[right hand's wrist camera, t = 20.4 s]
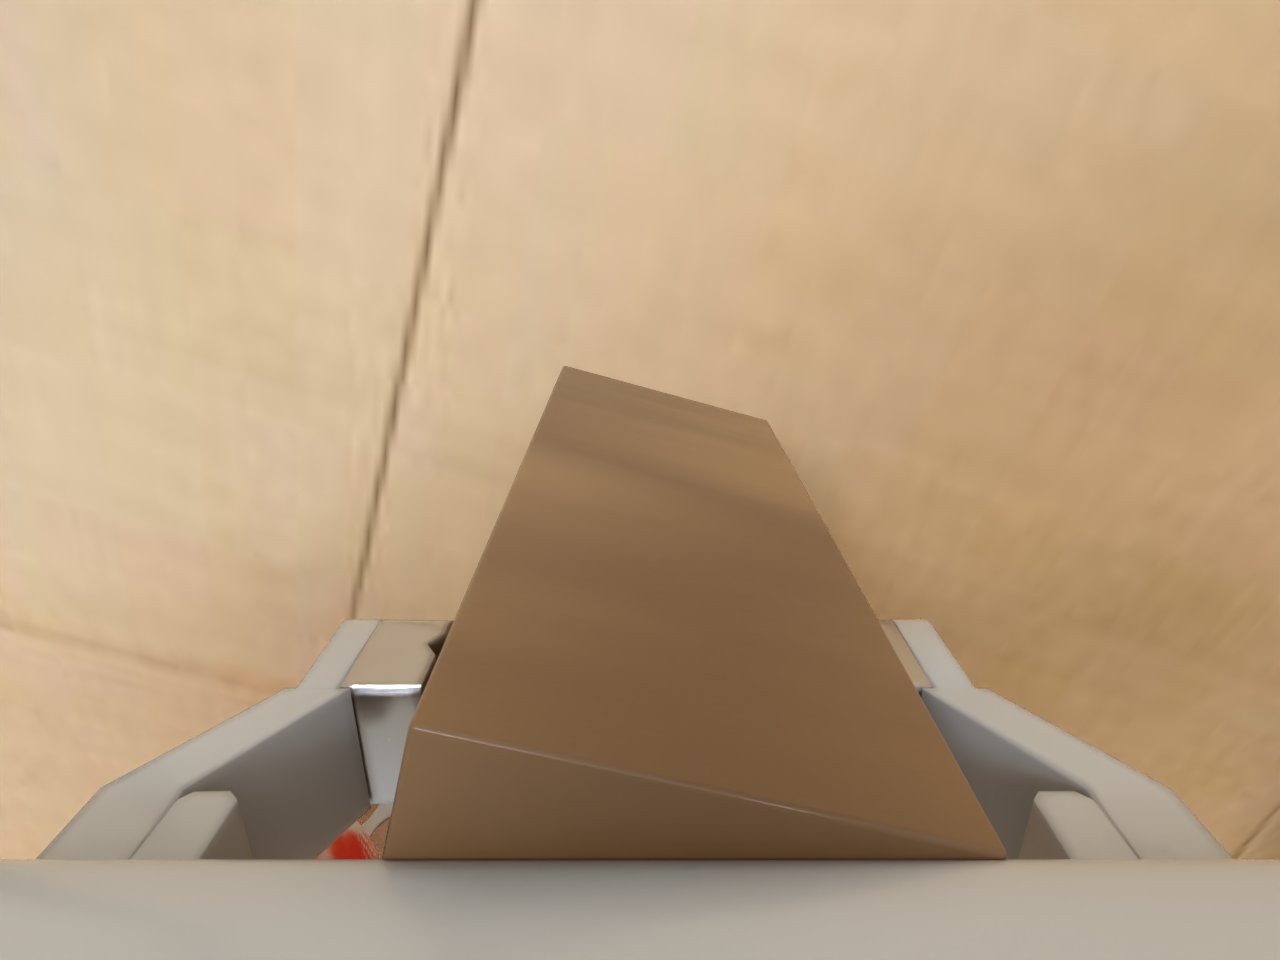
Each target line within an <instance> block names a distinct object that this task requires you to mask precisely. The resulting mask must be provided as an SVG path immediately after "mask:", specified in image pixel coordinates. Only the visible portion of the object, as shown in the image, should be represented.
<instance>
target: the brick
mask: <svg viewBox="0 0 1280 960" xmlns="http://www.w3.org/2000/svg"><path fill="white" fill-rule="evenodd" d="M1006 856H1007V853H1006V849H1005V848H1004V846H1003V844H1002V842H1001V840H1000V839H999V837H998V835H997V833H996V831H995V830H994V828H993V826H992V824H991V822H990V821H989V819H988V817H987V815H986V813H985V812H984V810H983V808H982V806H981V804H980V803H979V801H978V799H977V797H976V795H975V794H974V792H973V790H972V788H971V787H970V785H969V783H968V781H967V779H966V778H965V776H964V774H963V772H962V770H961V769H960V767H959V765H958V763H957V761H956V760H955V758H954V756H953V754H952V752H951V751H950V749H949V747H948V745H947V743H946V742H945V740H944V738H943V736H942V734H941V733H940V731H939V729H938V727H937V725H936V724H935V722H934V720H933V718H932V716H931V715H930V713H929V711H928V709H927V707H926V706H925V704H924V702H923V700H922V698H921V697H920V695H919V693H918V691H917V689H916V688H915V686H914V684H913V682H912V680H911V679H910V677H909V675H908V673H907V671H906V670H905V668H904V666H903V664H902V662H901V661H900V659H899V657H898V655H897V653H896V652H895V650H894V648H893V646H892V644H891V643H890V641H889V639H888V637H887V635H886V634H885V632H884V630H883V628H882V627H881V625H880V623H879V621H878V619H877V618H876V616H875V614H874V612H873V610H872V609H871V607H870V605H869V603H868V601H867V600H866V598H865V596H864V594H863V592H862V591H861V589H860V587H859V585H858V583H857V582H856V580H855V578H854V576H853V574H852V573H851V571H850V569H849V567H848V565H847V564H846V562H845V560H844V558H843V556H842V555H841V553H840V551H839V549H838V547H837V546H836V544H835V542H834V540H833V538H832V537H831V535H830V533H829V531H828V529H827V528H826V526H825V524H824V522H823V520H822V519H821V517H820V515H819V513H818V511H817V510H816V508H815V506H814V504H813V502H812V501H811V499H810V497H809V495H808V493H807V492H806V490H805V488H804V486H803V484H802V483H801V481H800V479H799V477H798V475H797V474H796V472H795V470H794V468H793V466H792V465H791V463H790V461H789V459H788V458H787V456H786V454H785V452H784V450H783V449H782V447H781V445H780V443H779V441H778V440H777V438H776V436H775V434H774V432H773V431H772V429H771V427H770V425H769V423H768V422H767V421H766V420H762V419H758V418H755V417H751V416H747V415H744V414H740V413H736V412H733V411H729V410H725V409H722V408H718V407H714V406H711V405H707V404H703V403H700V402H696V401H692V400H689V399H685V398H681V397H678V396H674V395H670V394H666V393H663V392H659V391H655V390H652V389H648V388H644V387H641V386H637V385H633V384H630V383H626V382H622V381H619V380H615V379H611V378H608V377H604V376H600V375H597V374H593V373H589V372H586V371H582V370H578V369H575V368H571V367H567V366H564V367H563V368H562V370H561V373H560V375H559V377H558V380H557V382H556V384H555V387H554V389H553V391H552V394H551V396H550V398H549V401H548V403H547V405H546V408H545V410H544V412H543V415H542V417H541V419H540V422H539V424H538V426H537V429H536V431H535V433H534V436H533V438H532V440H531V443H530V445H529V447H528V450H527V452H526V454H525V457H524V459H523V461H522V464H521V466H520V468H519V471H518V473H517V475H516V478H515V480H514V482H513V484H512V487H511V489H510V491H509V494H508V496H507V498H506V501H505V503H504V505H503V508H502V510H501V512H500V515H499V517H498V519H497V522H496V524H495V526H494V529H493V531H492V533H491V536H490V538H489V540H488V543H487V545H486V547H485V550H484V552H483V554H482V557H481V559H480V561H479V564H478V566H477V568H476V571H475V573H474V575H473V578H472V580H471V582H470V585H469V587H468V589H467V592H466V594H465V596H464V599H463V601H462V603H461V605H460V608H459V610H458V612H457V615H456V617H455V619H454V622H453V624H452V626H451V629H450V631H449V633H448V636H447V638H446V640H445V643H444V645H443V647H442V650H441V652H440V654H439V657H438V659H437V661H436V664H435V666H434V668H433V671H432V673H431V675H430V678H429V680H428V682H427V685H426V687H425V689H424V692H423V694H422V696H421V699H420V701H419V703H418V706H417V708H416V710H415V713H414V715H413V717H412V720H411V722H410V724H409V728H408V733H407V737H406V742H405V747H404V752H403V757H402V762H401V767H400V772H399V777H398V782H397V787H396V792H395V797H394V802H393V807H392V812H391V817H390V822H389V827H388V832H387V837H386V842H385V847H384V852H383V857H382V860H1006Z"/></svg>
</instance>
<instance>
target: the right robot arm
mask: <svg viewBox="0 0 1280 960" xmlns="http://www.w3.org/2000/svg"><path fill="white" fill-rule="evenodd" d="M453 622H454V621H435V620H382V619H350V620H347V621H344V622H343V623H342V624H341V625H340V627H339V628H338V630H337V631H336V633H335V634H334V636H333V637H332V638H331V640H330V641H329V643H328V644H327V646H326V647H325V648H324V650H323V651H322V653H321V654H320V656H319V657H318V659H317V660H316V661H315V663H314V664H313V666H312V667H311V669H310V670H309V671H308V673H307V674H306V676H305V677H304V679H303V680H302V681H301V683H300V684H299V686H298V687H297V688H285V689H284V690H282V691H280V692H278V693H276V694H274V695H272V696H271V697H269V698H267V699H265V700H263V701H261V702H259V703H258V704H256V705H254V706H252V707H250V708H248V709H246V710H245V711H243V712H241V713H239V714H237V715H235V716H233V717H232V718H230V719H228V720H226V721H224V722H222V723H220V724H219V725H217V726H215V727H213V728H211V729H209V730H207V731H206V732H204V733H202V734H200V735H198V736H196V737H194V738H193V739H191V740H189V741H187V742H185V743H183V744H182V745H180V746H178V747H176V748H174V749H172V750H170V751H169V752H167V753H165V754H163V755H161V756H159V757H157V758H156V759H154V760H152V761H150V762H148V763H146V764H144V765H143V766H141V767H139V768H137V769H135V770H133V771H131V772H130V773H128V774H126V775H124V776H122V777H120V778H118V779H117V780H115V781H113V782H111V783H109V784H107V785H105V786H104V787H102V788H100V789H99V790H98V791H97V793H96V794H95V795H94V796H93V797H92V798H91V799H90V800H89V801H88V802H87V804H86V805H85V806H84V807H83V808H82V809H81V810H80V811H79V812H78V813H77V815H76V816H75V817H74V818H73V819H72V820H71V821H70V822H69V823H68V824H67V826H66V827H65V828H64V829H63V830H62V831H61V832H60V833H59V834H58V835H57V837H56V838H55V839H54V840H53V841H52V842H51V843H50V844H49V845H48V846H47V848H46V849H45V850H44V851H43V852H42V853H41V854H40V855H39V856H38V857H37V859H0V960H1280V859H1233V858H1232V857H1231V856H1230V855H1229V854H1228V852H1227V851H1226V850H1225V849H1224V848H1223V847H1222V846H1221V845H1220V843H1219V842H1218V841H1217V840H1216V839H1215V838H1214V837H1213V836H1212V834H1211V833H1210V832H1209V831H1208V830H1207V829H1206V828H1205V827H1204V825H1203V824H1202V823H1201V822H1200V821H1199V820H1198V819H1197V817H1196V816H1195V815H1194V814H1193V813H1192V812H1191V811H1190V810H1189V808H1188V807H1187V806H1186V805H1185V804H1184V803H1183V802H1182V801H1181V799H1180V798H1179V797H1178V796H1177V795H1176V794H1175V793H1174V792H1173V790H1172V789H1170V788H1168V787H1166V786H1165V785H1163V784H1161V783H1159V782H1157V781H1155V780H1154V779H1152V778H1150V777H1148V776H1146V775H1144V774H1143V773H1141V772H1139V771H1137V770H1135V769H1133V768H1132V767H1130V766H1128V765H1126V764H1124V763H1122V762H1121V761H1119V760H1117V759H1115V758H1113V757H1111V756H1110V755H1108V754H1106V753H1104V752H1102V751H1100V750H1099V749H1097V748H1095V747H1093V746H1091V745H1089V744H1088V743H1086V742H1084V741H1082V740H1080V739H1078V738H1077V737H1075V736H1073V735H1071V734H1069V733H1067V732H1066V731H1064V730H1062V729H1060V728H1058V727H1056V726H1055V725H1053V724H1051V723H1049V722H1047V721H1045V720H1044V719H1042V718H1040V717H1038V716H1036V715H1034V714H1033V713H1031V712H1029V711H1027V710H1025V709H1023V708H1022V707H1020V706H1018V705H1016V704H1014V703H1012V702H1011V701H1009V700H1007V699H1005V698H1003V697H1001V696H1000V695H998V694H996V693H994V692H992V691H990V690H989V689H987V688H975V687H974V685H973V684H972V682H971V681H970V680H969V678H968V677H967V675H966V674H965V672H964V671H963V669H962V668H961V666H960V665H959V664H958V662H957V661H956V659H955V658H954V656H953V655H952V653H951V652H950V650H949V649H948V648H947V646H946V645H945V643H944V642H943V640H942V639H941V637H940V636H939V634H938V633H937V632H936V630H935V629H934V627H933V626H932V624H931V623H930V622H929V621H927V620H925V619H904V620H880V621H879V623H880V625H881V627H882V628H883V630H884V632H885V634H886V635H887V637H888V639H889V641H890V643H891V644H892V646H893V648H894V650H895V652H896V653H897V655H898V657H899V659H900V661H901V662H902V664H903V666H904V668H905V670H906V671H907V673H908V675H909V677H910V679H911V680H912V682H913V684H914V686H915V688H916V689H917V691H918V693H919V695H920V697H921V698H922V700H923V702H924V704H925V706H926V707H927V709H928V711H929V713H930V715H931V716H932V718H933V720H934V722H935V724H936V725H937V727H938V729H939V731H940V733H941V734H942V736H943V738H944V740H945V742H946V743H947V745H948V747H949V749H950V751H951V752H952V754H953V756H954V758H955V760H956V761H957V763H958V765H959V767H960V769H961V770H962V772H963V774H964V776H965V778H966V779H967V781H968V783H969V785H970V787H971V788H972V790H973V792H974V794H975V795H976V797H977V799H978V801H979V803H980V804H981V806H982V808H983V810H984V812H985V813H986V815H987V817H988V819H989V821H990V822H991V824H992V826H993V828H994V830H995V831H996V833H997V835H998V837H999V839H1000V840H1001V842H1002V844H1003V846H1004V848H1005V849H1006V853H1007V856H1006V860H353V859H316V858H317V857H318V856H319V855H320V854H321V853H322V852H324V851H325V850H326V849H327V848H328V847H329V846H330V845H331V844H332V843H333V842H334V841H335V840H336V839H338V838H339V837H340V836H341V835H342V834H343V833H344V832H345V831H346V830H347V829H348V828H349V827H350V826H351V825H353V824H354V823H355V822H356V821H357V820H358V819H359V818H360V817H361V816H362V815H363V814H364V813H365V812H367V811H368V810H369V809H370V808H371V806H370V804H391V803H393V802H394V797H395V792H396V787H397V782H398V777H399V772H400V767H401V762H402V757H403V752H404V747H405V742H406V737H407V733H408V728H409V724H410V722H411V720H412V717H413V715H414V713H415V710H416V708H417V706H418V703H419V701H420V699H421V696H422V694H423V692H424V689H425V687H426V685H427V682H428V680H429V678H430V675H431V673H432V671H433V668H434V666H435V664H436V661H437V659H438V657H439V654H440V652H441V650H442V647H443V645H444V643H445V640H446V638H447V636H448V633H449V631H450V629H451V626H452V624H453Z"/></svg>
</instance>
